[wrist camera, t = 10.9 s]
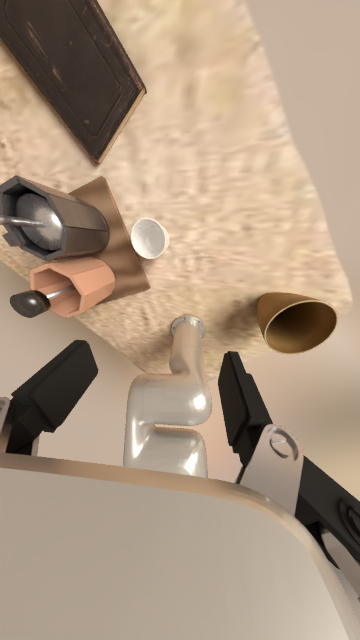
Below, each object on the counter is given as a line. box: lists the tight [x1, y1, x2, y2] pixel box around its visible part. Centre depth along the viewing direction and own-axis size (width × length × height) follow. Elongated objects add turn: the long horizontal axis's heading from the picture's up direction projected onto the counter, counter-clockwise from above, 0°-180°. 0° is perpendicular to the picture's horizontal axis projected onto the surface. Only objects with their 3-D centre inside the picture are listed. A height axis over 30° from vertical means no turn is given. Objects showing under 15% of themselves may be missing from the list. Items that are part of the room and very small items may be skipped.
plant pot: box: [257, 292, 339, 354], centre depth 40 cm, size 15×15×16 cm
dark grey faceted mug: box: [0, 176, 110, 261], centre depth 32 cm, size 12×15×16 cm
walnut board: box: [57, 176, 150, 305], centre depth 43 cm, size 28×24×2 cm
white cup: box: [131, 218, 170, 259], centre depth 36 cm, size 8×8×10 cm
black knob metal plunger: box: [10, 284, 76, 318], centre depth 33 cm, size 9×9×19 cm
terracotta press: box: [30, 257, 116, 318], centre depth 39 cm, size 12×15×16 cm
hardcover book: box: [0, 0, 147, 163], centre depth 26 cm, size 16×23×2 cm
